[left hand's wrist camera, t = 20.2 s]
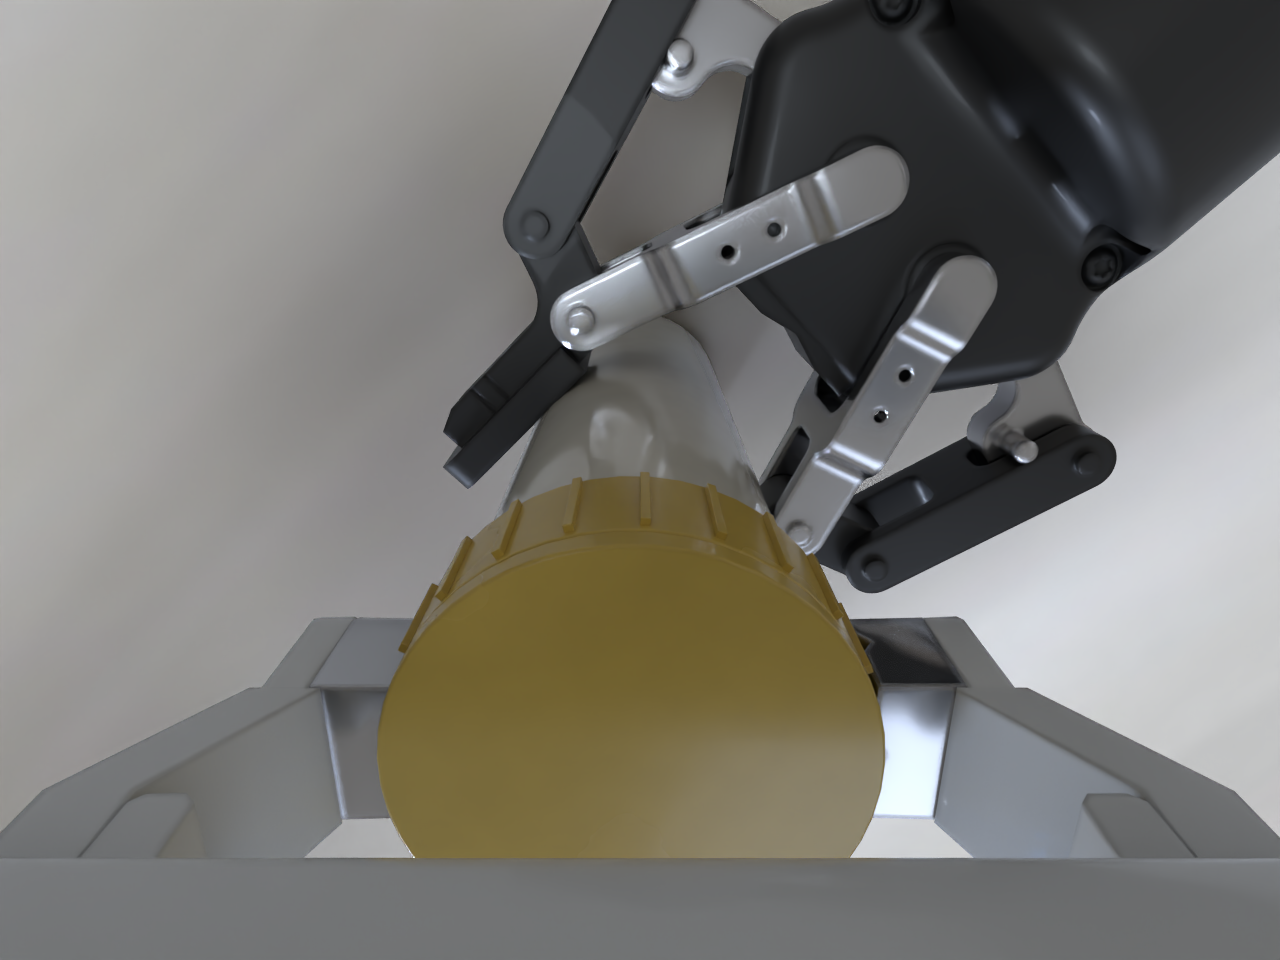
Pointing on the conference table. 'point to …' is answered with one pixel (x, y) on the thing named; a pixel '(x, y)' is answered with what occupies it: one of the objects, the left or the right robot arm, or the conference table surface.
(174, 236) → the conference table surface
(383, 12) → the conference table surface
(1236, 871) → the left robot arm
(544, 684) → the lid
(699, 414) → the jar
